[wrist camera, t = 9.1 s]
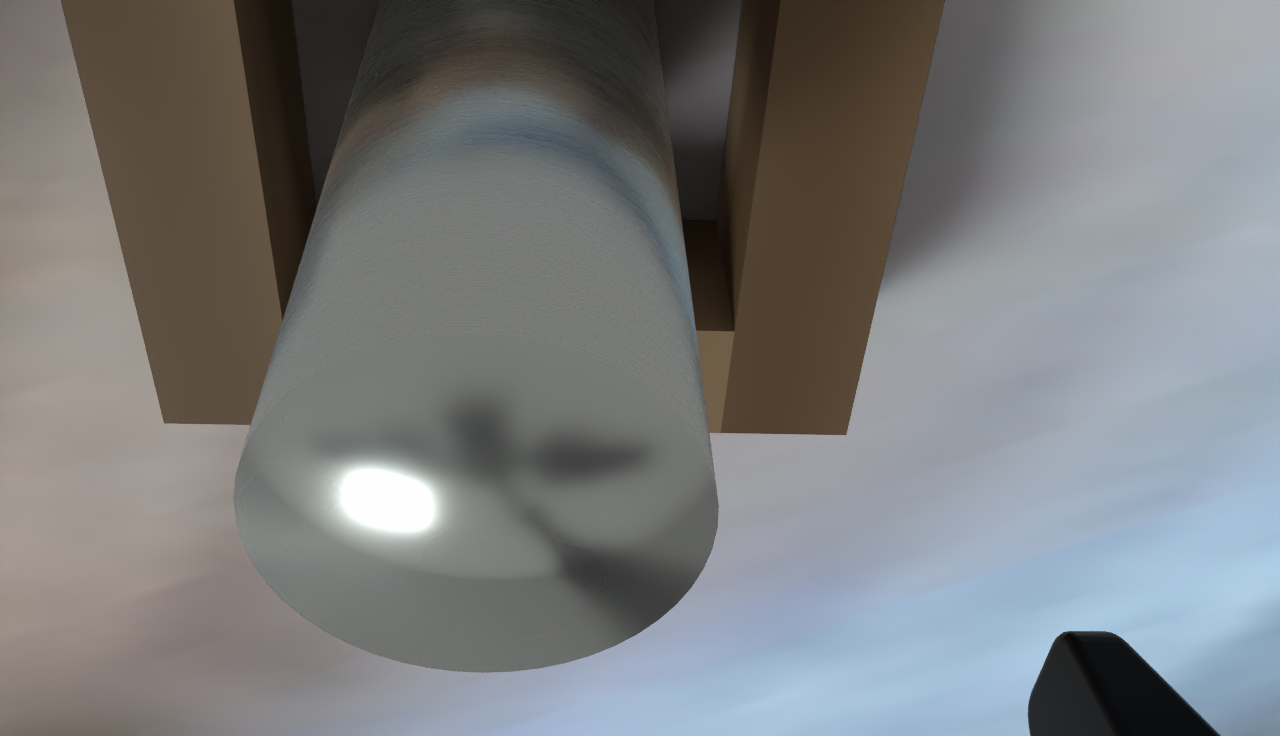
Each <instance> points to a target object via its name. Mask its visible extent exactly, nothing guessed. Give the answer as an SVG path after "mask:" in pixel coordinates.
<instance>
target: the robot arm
mask: <svg viewBox="0 0 1280 736" xmlns="http://www.w3.org/2000/svg"><path fill="white" fill-rule="evenodd" d="M1028 723H1029V730H1030V736H1220V735H1219V734H1218V733H1217V732H1216V731H1215V730H1214V729H1213V728H1212V727H1211V726H1210V725H1209V724H1208V723H1207V722H1206V721H1205V720H1204V719H1203V718H1202V717H1201V716H1200V715H1199V714H1198V713H1197V712H1196V711H1195V710H1194V709H1193V708H1192V707H1191V706H1190V705H1189V704H1188V703H1187V702H1186V701H1185V700H1184V699H1183V698H1182V697H1181V696H1180V695H1179V694H1178V693H1177V692H1176V691H1175V690H1174V689H1173V688H1172V687H1171V686H1170V685H1169V684H1168V683H1167V682H1166V681H1165V680H1164V679H1163V678H1162V677H1161V676H1160V675H1159V674H1158V673H1157V672H1156V671H1155V670H1154V669H1153V668H1152V667H1151V666H1150V665H1149V664H1148V663H1147V662H1146V661H1145V660H1144V659H1143V658H1142V657H1141V656H1140V655H1139V654H1138V653H1137V652H1136V651H1135V650H1134V649H1133V648H1132V647H1131V646H1130V645H1129V644H1128V643H1127V642H1126V641H1125V640H1123V639H1122V638H1121V637H1119V636H1117V635H1116V634H1113V633H1110V632H1105V631H1068V632H1063V633H1062V634H1061V635H1059V636H1058V637H1057V638H1056V639H1055V641H1054V643H1053V644H1052V647H1051V649H1050V651H1049V654H1048V656H1047V658H1046V660H1045V663H1044V665H1043V667H1042V669H1041V672H1040V674H1039V676H1038V679H1037V681H1036V683H1035V685H1034V688H1033V690H1032V692H1031V696H1030V699H1029V705H1028Z"/></svg>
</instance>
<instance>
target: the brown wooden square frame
mask: <svg viewBox="0 0 1280 736" xmlns="http://www.w3.org/2000/svg"><path fill="white" fill-rule="evenodd" d="M944 2H945V0H742V6H741V14H740V23H739V31H738V40H737V48H736V56H735V65H734V73H733V82H732V90H731V98H730V107H729V115H728V124H727V132H726V140H725V149H724V157H723V166H722V174H721V182H720V191H719V199H718V208H717V216H716V221H698V220H682V226H683V234H684V242H685V250H686V257H687V265H688V273H689V281H690V288H691V296H692V304H693V312H694V319H695V327H696V335H697V343H698V350H699V358H700V366H701V373H702V381H703V389H704V397H705V404H706V412H707V420H708V428H709V433H761V434H819V435H846V433H847V429H848V425H849V420H850V416H851V411H852V407H853V403H854V398H855V394H856V389H857V385H858V381H859V376H860V372H861V367H862V363H863V359H864V354H865V350H866V345H867V341H868V337H869V332H870V328H871V323H872V319H873V315H874V310H875V306H876V301H877V297H878V293H879V288H880V284H881V279H882V275H883V271H884V266H885V262H886V257H887V253H888V249H889V244H890V240H891V235H892V231H893V227H894V222H895V218H896V213H897V209H898V205H899V200H900V196H901V191H902V187H903V183H904V178H905V174H906V169H907V165H908V161H909V156H910V152H911V147H912V143H913V139H914V134H915V130H916V125H917V121H918V117H919V112H920V108H921V103H922V99H923V95H924V90H925V86H926V81H927V77H928V72H929V68H930V64H931V59H932V55H933V50H934V46H935V42H936V37H937V33H938V28H939V24H940V20H941V15H942V11H943V6H944ZM61 3H62V7H63V11H64V15H65V20H66V24H67V28H68V32H69V36H70V40H71V44H72V48H73V52H74V56H75V60H76V65H77V69H78V73H79V77H80V81H81V85H82V89H83V93H84V97H85V101H86V105H87V110H88V114H89V118H90V122H91V126H92V130H93V134H94V138H95V142H96V146H97V150H98V155H99V159H100V163H101V167H102V171H103V175H104V179H105V183H106V187H107V191H108V195H109V200H110V204H111V208H112V212H113V216H114V220H115V224H116V228H117V232H118V236H119V240H120V245H121V249H122V253H123V257H124V261H125V265H126V269H127V273H128V277H129V281H130V285H131V290H132V294H133V298H134V302H135V306H136V310H137V314H138V318H139V322H140V326H141V330H142V335H143V339H144V343H145V347H146V351H147V355H148V359H149V363H150V367H151V371H152V375H153V379H154V384H155V388H156V392H157V396H158V400H159V404H160V408H161V412H162V416H163V420H164V423H179V424H237V425H251V423H252V419H253V416H254V413H255V410H256V406H257V403H258V400H259V396H260V393H261V390H262V387H263V383H264V380H265V377H266V373H267V370H268V367H269V364H270V360H271V357H272V354H273V350H274V347H275V344H276V341H277V337H278V334H279V331H280V327H281V324H282V321H283V318H284V314H285V311H286V308H287V304H288V301H289V298H290V295H291V291H292V288H293V285H294V281H295V278H296V275H297V272H298V268H299V265H300V262H301V258H302V255H303V252H304V249H305V245H306V242H307V239H308V235H309V232H310V229H311V226H312V222H313V219H314V216H315V213H316V202H315V193H314V185H313V177H312V169H311V161H310V152H309V144H308V136H307V128H306V119H305V111H304V103H303V95H302V87H301V78H300V70H299V62H298V54H297V46H296V37H295V29H294V21H293V13H292V4H291V0H61Z"/></svg>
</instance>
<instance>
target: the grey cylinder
mask: <svg viewBox="0 0 1280 736" xmlns="http://www.w3.org/2000/svg"><path fill="white" fill-rule="evenodd" d="M234 506H235V515H236V522H237V526H238V529H239V532H240V536H241V539H242V542H243V545H244V547H245V549H246V551H247V553H248V555H249V557H250V559H251V561H252V563H253V564H254V566H255V567H256V569H257V570H258V571H259V573H260V574H261V576H262V577H263V578H264V580H265V581H266V583H267V584H268V585H269V586H270V587H271V588H272V589H273V590H274V591H275V592H276V593H277V594H278V596H279V597H280V598H281V599H282V600H283V601H284V602H285V603H287V604H288V605H289V606H290V607H291V608H293V609H294V610H295V611H296V612H298V613H299V614H300V615H301V616H302V617H304V618H305V619H307V620H308V621H310V622H311V623H313V624H314V625H316V626H317V627H319V628H320V629H322V630H324V631H325V632H327V633H329V634H331V635H333V636H335V637H337V638H339V639H341V640H343V641H344V642H346V643H348V644H351V645H353V646H356V647H358V648H361V649H363V650H366V651H368V652H371V653H373V654H376V655H379V656H383V657H386V658H389V659H393V660H396V661H399V662H404V663H408V664H413V665H418V666H423V667H427V668H435V669H443V670H451V671H463V672H509V671H520V670H528V669H537V668H543V667H548V666H552V665H557V664H562V663H567V662H570V661H573V660H577V659H580V658H583V657H587V656H590V655H593V654H595V653H598V652H600V651H603V650H605V649H608V648H610V647H613V646H615V645H617V644H619V643H621V642H623V641H625V640H627V639H629V638H631V637H632V636H634V635H636V634H638V633H640V632H641V631H643V630H644V629H646V628H647V627H649V626H650V625H651V624H653V623H654V622H656V621H657V620H659V619H660V618H661V617H662V616H663V615H665V614H666V613H667V612H668V611H669V610H670V609H671V608H673V607H674V606H675V605H676V604H677V603H678V602H679V601H680V600H681V598H682V597H683V596H684V595H685V594H686V593H687V592H688V590H689V589H690V588H691V587H692V585H693V584H694V582H695V581H696V579H697V578H698V576H699V575H700V573H701V572H702V570H703V568H704V566H705V564H706V562H707V559H708V557H709V555H710V553H711V550H712V548H713V543H714V539H715V535H716V531H717V525H718V507H719V505H718V497H717V490H716V482H715V474H714V466H713V459H712V451H711V443H710V435H709V428H708V420H707V412H706V404H705V397H704V389H703V381H702V373H701V366H700V358H699V350H698V343H697V335H696V327H695V319H694V312H693V304H692V296H691V288H690V281H689V273H688V265H687V257H686V250H685V242H684V234H683V226H682V219H681V211H680V203H679V195H678V188H677V180H676V172H675V164H674V157H673V149H672V141H671V133H670V126H669V118H668V110H667V102H666V95H665V87H664V79H663V71H662V64H661V56H660V48H659V40H658V33H657V25H656V17H655V10H654V2H653V0H380V2H379V6H378V9H377V12H376V16H375V19H374V22H373V25H372V29H371V32H370V35H369V38H368V42H367V45H366V48H365V52H364V55H363V58H362V61H361V65H360V68H359V71H358V75H357V78H356V81H355V84H354V88H353V91H352V94H351V98H350V101H349V104H348V107H347V111H346V114H345V117H344V121H343V124H342V127H341V130H340V134H339V137H338V140H337V144H336V147H335V150H334V153H333V157H332V160H331V163H330V167H329V170H328V173H327V176H326V180H325V183H324V186H323V190H322V193H321V196H320V199H319V203H318V206H317V209H316V213H315V216H314V219H313V222H312V226H311V229H310V232H309V235H308V239H307V242H306V245H305V249H304V252H303V255H302V258H301V262H300V265H299V268H298V272H297V275H296V278H295V281H294V285H293V288H292V291H291V295H290V298H289V301H288V304H287V308H286V311H285V314H284V318H283V321H282V324H281V327H280V331H279V334H278V337H277V341H276V344H275V347H274V350H273V354H272V357H271V360H270V364H269V367H268V370H267V373H266V377H265V380H264V383H263V387H262V390H261V393H260V396H259V400H258V403H257V406H256V410H255V413H254V416H253V419H252V423H251V426H250V429H249V433H248V436H247V439H246V442H245V446H244V449H243V452H242V456H241V459H240V463H239V466H238V470H237V473H236V478H235V490H234Z"/></svg>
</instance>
